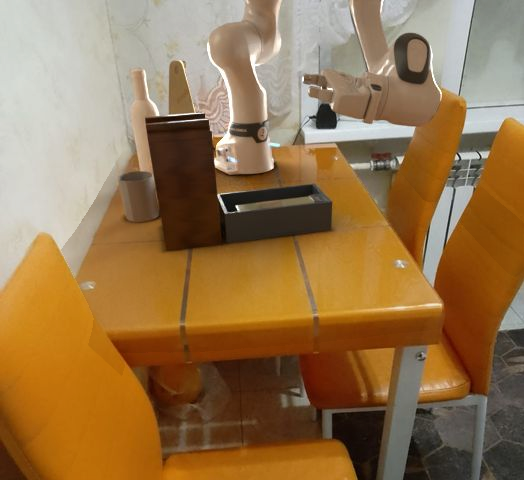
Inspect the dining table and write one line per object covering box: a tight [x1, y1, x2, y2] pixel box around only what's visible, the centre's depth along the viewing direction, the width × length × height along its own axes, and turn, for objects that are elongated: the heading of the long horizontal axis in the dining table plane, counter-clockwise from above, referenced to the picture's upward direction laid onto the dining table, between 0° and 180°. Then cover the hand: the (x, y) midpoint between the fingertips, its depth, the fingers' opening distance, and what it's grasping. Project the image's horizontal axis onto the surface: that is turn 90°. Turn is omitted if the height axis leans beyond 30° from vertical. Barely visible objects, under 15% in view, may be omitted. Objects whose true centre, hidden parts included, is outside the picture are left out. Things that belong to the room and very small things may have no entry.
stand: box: [145, 112, 223, 252], centre depth 107 cm, size 12×14×25 cm
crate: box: [217, 182, 333, 244], centre depth 115 cm, size 25×14×7 cm, turn 102°
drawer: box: [235, 194, 323, 211], centre depth 116 cm, size 20×5×5 cm, turn 102°
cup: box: [117, 170, 160, 223], centre depth 123 cm, size 8×8×10 cm
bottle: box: [129, 68, 160, 190], centre depth 137 cm, size 8×8×30 cm
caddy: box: [168, 59, 196, 115], centre depth 163 cm, size 29×11×30 cm, turn 178°
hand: (305, 84), depth 104 cm, fingers open, 8 cm apart
